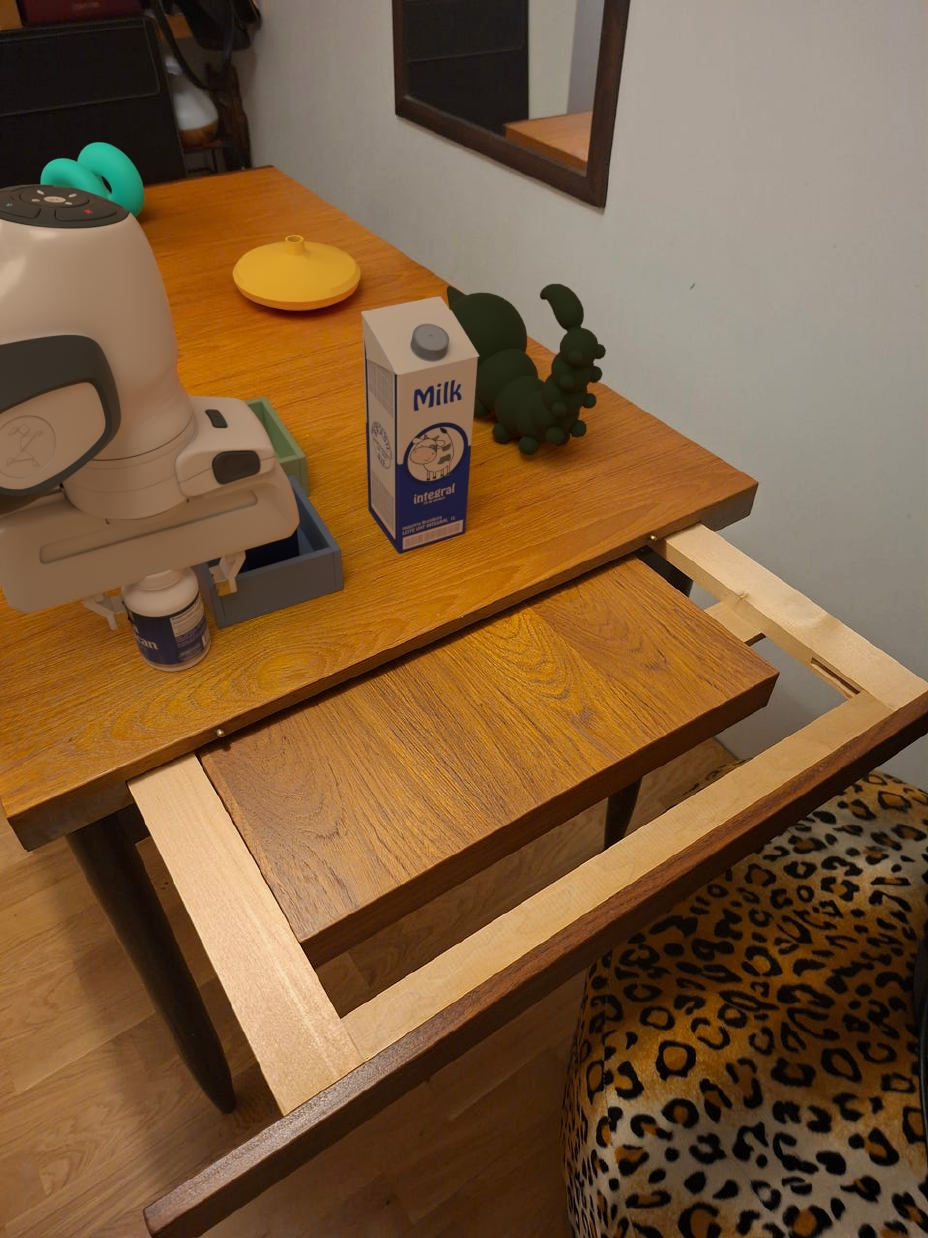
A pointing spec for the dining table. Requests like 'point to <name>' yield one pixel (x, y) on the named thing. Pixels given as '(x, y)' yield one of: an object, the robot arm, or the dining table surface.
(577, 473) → the dining table surface
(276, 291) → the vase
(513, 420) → the toy figurine
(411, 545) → the milk carton
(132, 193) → the donuts
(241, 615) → the blue bin
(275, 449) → the green bin
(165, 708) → the dining table surface
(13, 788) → the dining table surface
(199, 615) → the pill bottle
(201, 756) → the dining table surface
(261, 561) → the navy block
